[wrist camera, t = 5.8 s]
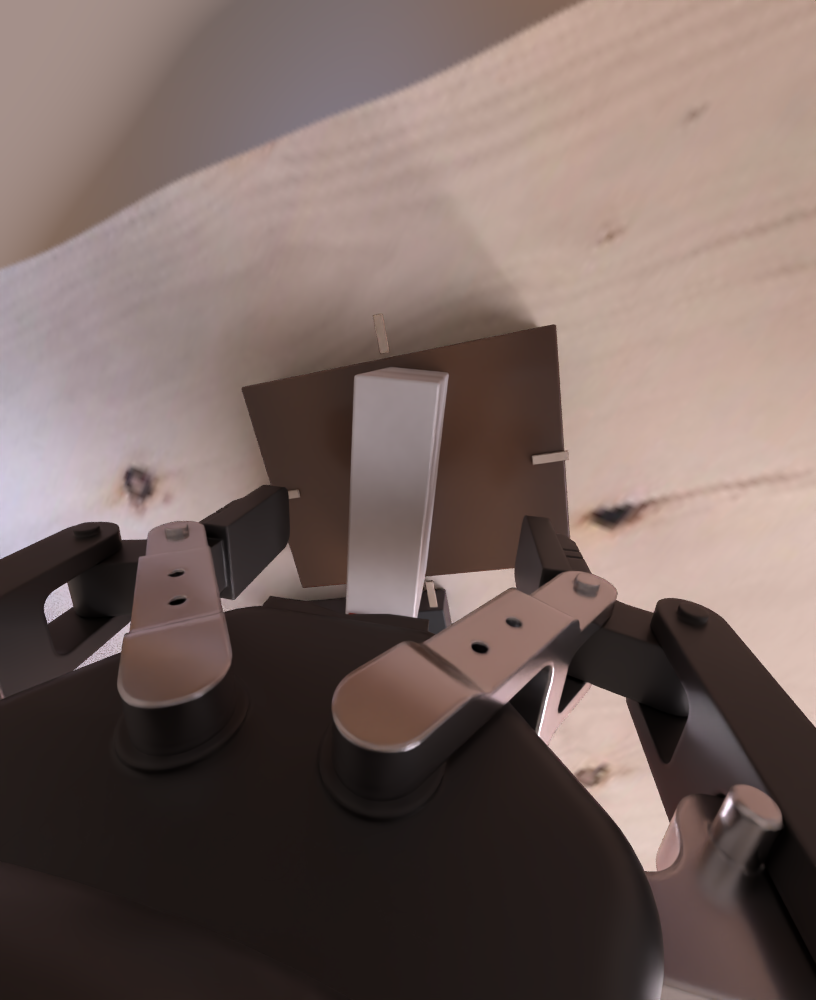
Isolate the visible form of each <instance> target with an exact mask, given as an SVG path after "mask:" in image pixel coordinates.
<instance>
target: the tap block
mask: <svg viewBox="0 0 816 1000" xmlns="http://www.w3.org/2000/svg"><path fill="white" fill-rule="evenodd" d="M373 319H374V324H375V329H376V334H377V339H378V344H379V349H380V353H381V354H382V353H386V352H390V351H389V346H388V340H387V335H386V330H385V325H384V319H383V314H378V315H373ZM389 367H396V368H407V369H417V370H427V371H438V372H447V373H448V375H449V376H448V385H447V394H446V402H445V411H444V420H443V428H442V437H441V446H440V454H439V463H438V472H437V480H436V489H435V498H434V506H433V515H432V524H431V532H430V541H429V550H428V558H427V567H426V574H425V576H435V575H446V574H456V573H467V572H477V571H488V570H499V569H509V568H515V561H516V555H517V549H518V544H519V538H520V533H521V527H522V522H523V518H524V516H525V515H527V516H536V517H545V518H549V520H550V522H551V524H552V526H553V528H554V531H555V533H556V534H564V535H566V536H567V537H568V538H570V531H569V516H568V500H567V485H566V470H565V460H568V459H569V458H568V451H567V450H566V451H564V439H563V424H562V408H561V393H560V378H559V362H558V347H557V331H556V325H554V324H553V325H548V326H543V327H538V328H533V329H528V330H523V331H518V332H513V333H508V334H503V335H498V336H493V337H488V338H483V339H478V340H473V341H469V342H464V343H459V344H454V345H449V346H444V347H439V348H434V349H429V350H424V351H419V352H414V353H409V354H404V355H399V356H394V357H389V358H384V359H379V360H374V361H369V362H364V363H359V364H354V365H349V366H344V367H339V368H334V369H329V370H324V371H319V372H315V373H310V374H305V375H300V376H295V377H290V378H285V379H280V380H275V381H270V382H265V383H260V384H255V385H250V386H245V387H242V392H243V395H244V398H245V402H246V405H247V408H248V412H249V415H250V418H251V421H252V425H253V428H254V431H255V434H256V438H257V441H258V444H259V447H260V451H261V454H262V457H263V460H264V464H265V467H266V470H267V473H268V477H269V480H270V483H271V486H279V487H285V488H286V489H287V490H288V494H289V514H290V536H289V540H288V542H289V545H290V548H291V552H292V555H293V558H294V561H295V565H296V568H297V571H298V574H299V578H300V581H301V584H302V587H303V588H308V587H318V586H329V585H340V584H347V559H348V532H349V504H350V477H351V449H352V422H353V395H354V377H355V375H357V374H362V373H366V372H371V371H375V370H380V369H384V368H389ZM425 584H426V589H427V594H428V599H429V604H430V607H437V606H438V605H437V599H436V594H435V589H434V583H433V580H431V581H426V582H425Z"/></svg>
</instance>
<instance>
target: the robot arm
mask: <svg viewBox="0 0 816 1000" xmlns="http://www.w3.org/2000/svg"><path fill="white" fill-rule="evenodd" d="M289 536H290V514H289V494H288V490H287V489H286V488H285V487H279V486H270V485H262V486H261V487H259V488H258V489H256V490H254V491H253V492H251V493H250V494H248V495H247V496H245V497H243V498H240V499H237V500H234V501H232V502H231V503H229V504H227V505H226V506H224V508H221V509H219V510H218V511H216V513H213V514H211V515H210V516H208V517H206V518H205V519H203V520H201V521H200V522H194V521H175V522H170V523H166V524H163V525H160V526H157V527H155V528H153V529H152V530H151V531H150V532H149V533H148V537H147V540H121V535H120V530H119V526H118V525H117V524H114V523H110V522H87V523H82V524H78V525H76V526H72V527H69V528H67V529H64V530H62V531H60V532H58V533H56V534H53V535H51V536H49V537H47V538H45V539H43V540H41V541H38V542H36V543H34V544H32V545H30V546H28V547H26V548H24V549H21V550H19V551H17V552H15V553H13V554H11V555H9V556H6V557H4V558H2V559H0V1000H816V728H815V726H814V725H813V724H812V723H811V722H810V721H809V719H808V718H807V717H806V716H805V715H804V713H803V712H802V711H801V710H800V709H799V707H798V706H797V705H796V704H795V703H794V701H793V700H792V699H791V698H790V697H789V696H788V694H787V693H786V692H785V691H784V690H783V688H782V687H781V686H780V685H779V684H778V682H777V681H776V680H775V679H774V678H773V677H772V675H771V674H770V673H769V672H768V671H767V669H766V668H765V667H764V666H763V665H762V663H761V662H760V661H759V660H758V659H757V658H756V656H755V655H754V654H753V653H752V652H751V650H750V649H749V648H748V647H747V646H746V644H745V643H744V642H743V641H742V640H741V639H740V637H739V636H738V635H737V634H736V633H735V631H734V630H733V629H732V628H731V627H730V625H729V624H728V623H727V622H726V621H725V620H724V619H723V618H722V617H721V616H719V615H718V614H717V613H715V612H713V611H712V610H710V609H708V608H706V607H704V606H702V605H699V604H697V603H694V602H690V601H687V600H682V599H676V598H665V599H661V600H659V601H658V602H657V605H656V608H655V611H654V613H652V612H649V611H646V610H642V609H639V608H636V607H632V606H629V605H626V604H624V603H621V602H619V601H617V600H616V598H617V594H618V593H617V590H616V588H615V587H614V586H613V585H612V584H611V583H610V582H608V581H607V580H605V579H603V578H601V577H599V576H596V575H594V574H592V573H591V572H590V570H589V568H588V566H587V564H586V562H585V560H584V559H583V557H582V555H581V553H580V552H579V549H578V547H577V545H576V543H575V542H574V541H572V540H571V539H570V538H568V537H567V536H566V535H564V534H556V533H555V531H554V528H553V526H552V524H551V522H550V520H549V518H545V517H536V516H527V515H525V516H524V518H523V522H522V527H521V533H520V538H519V544H518V549H517V555H516V561H515V582H516V588H517V589H516V588H513V587H512V588H509V589H507V590H506V591H504V592H503V593H501V594H500V595H498V596H496V597H495V598H493V599H492V600H490V601H488V602H487V603H485V604H484V605H482V606H480V607H479V608H477V609H476V610H474V611H472V612H471V613H469V614H468V615H466V616H464V617H463V618H461V619H460V620H458V621H456V622H455V623H453V624H452V625H450V626H449V627H447V628H445V629H444V630H442V631H441V632H439V633H437V634H434V633H431V632H429V631H428V627H429V620H428V619H421V618H415V617H408V616H401V615H394V614H343V613H340V612H337V611H334V610H331V609H328V608H325V607H322V606H319V605H316V604H313V603H311V602H307V601H300V600H294V599H287V598H280V597H273V596H270V597H269V598H268V600H267V601H266V602H265V603H264V604H263V606H254V607H245V608H239V609H235V610H230V611H227V612H223V610H222V605H221V600H220V598H224V599H231V600H235V599H236V598H237V597H238V596H239V594H240V593H241V592H242V591H243V590H244V589H245V588H246V587H247V586H248V585H249V584H250V583H251V582H252V581H253V580H254V579H255V578H256V577H257V576H258V575H259V574H260V573H261V572H262V571H263V570H264V569H265V568H266V567H267V565H268V564H269V563H270V562H271V561H272V560H273V559H274V558H275V557H276V556H277V555H278V554H279V553H280V552H281V551H282V550H283V549H284V548H285V547H286V545H287V543H288V540H289ZM65 583H68V587H69V591H70V595H71V599H72V602H73V606H74V607H72V608H71V609H69V610H68V611H66V612H65V613H63V614H62V615H60V616H59V617H58V618H56V619H55V620H53V621H52V622H50V623H49V624H47V620H46V617H45V614H44V604H45V601H46V599H47V597H48V596H49V595H50V593H51V592H52V591H54V590H55V589H57V588H59V587H60V586H62V585H63V584H65ZM130 621H131V624H130V631H129V633H126V634H125V635H124V638H123V644H122V651H121V652H120V653H118V654H115V655H113V656H110V657H107V658H105V659H102V660H100V661H97V662H95V663H92V664H90V665H87V666H85V667H82V668H79V669H77V670H75V669H76V668H77V667H78V666H79V665H80V664H82V663H83V662H84V661H85V660H86V659H87V658H89V657H90V656H91V655H92V654H93V653H94V652H96V651H97V650H98V649H99V648H100V647H101V646H103V645H104V644H105V643H106V642H107V641H108V640H110V639H111V638H112V637H113V636H114V635H115V634H117V633H118V632H119V631H120V630H121V629H122V628H123V627H125V626H126V625H127V624H128V623H129V622H130ZM73 670H74V671H73ZM592 684H593V685H595V686H598V687H600V688H603V689H606V690H608V691H611V692H613V693H616V694H618V695H621V696H624V697H626V702H627V705H628V708H629V711H630V714H631V717H632V719H633V722H634V725H635V728H636V730H637V733H638V736H639V739H640V742H641V744H642V747H643V750H644V753H645V755H646V758H647V761H648V764H649V767H650V769H651V772H652V775H653V778H654V780H655V783H656V786H657V789H658V792H659V794H660V797H661V800H662V803H663V805H664V808H665V811H666V814H667V816H668V819H669V822H670V824H669V826H668V829H667V831H666V833H665V835H664V838H663V840H662V842H661V844H660V847H659V849H658V851H657V856H656V868H657V871H656V872H647V871H644V869H643V867H642V865H641V863H640V861H639V859H638V858H637V856H636V854H635V852H634V850H633V848H632V846H631V845H630V843H629V842H628V840H627V839H626V837H625V836H624V834H623V833H622V831H621V830H620V828H619V827H618V826H617V825H616V823H615V822H614V821H613V820H612V818H611V817H610V816H609V815H608V813H607V812H606V811H605V810H604V809H603V808H602V807H601V805H600V804H599V803H598V802H597V801H596V800H595V799H594V798H593V796H592V795H591V794H590V793H589V792H588V791H587V790H586V789H585V787H584V786H583V785H582V784H581V783H580V782H579V781H578V780H577V778H576V777H575V776H574V775H573V774H572V773H571V772H570V771H569V769H568V768H567V767H566V766H565V765H564V764H563V763H562V761H561V760H560V759H559V758H558V757H557V756H556V755H555V754H554V752H553V751H552V750H551V749H550V748H549V747H548V746H549V743H550V741H551V739H552V737H553V735H554V733H555V731H556V730H557V729H558V727H559V726H560V725H561V724H562V722H563V721H564V720H565V719H566V718H567V716H568V715H569V714H570V713H571V711H572V710H573V709H574V708H575V707H576V705H577V704H578V703H579V702H580V700H581V699H582V698H583V697H584V696H585V694H586V693H587V692H588V691H589V689H590V688H591V685H592Z"/></svg>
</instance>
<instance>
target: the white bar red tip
mask: <svg viewBox="0 0 816 1000" xmlns="http://www.w3.org/2000/svg"><path fill="white" fill-rule="evenodd" d="M448 376H449V375H448V373H447V372H438V371H427V370H417V369H407V368H396V367H389V368H384V369H380V370H375V371H371V372H366V373H362V374H357V375H355V377H354V395H353V422H352V449H351V477H350V504H349V532H348V559H347V586H346V614H394V615H401V616H408V617H415V618H417V616H418V611H419V605H420V600H421V595H422V590H423V584H424V579H425V574H426V567H427V558H428V550H429V541H430V532H431V524H432V515H433V506H434V498H435V489H436V480H437V472H438V463H439V454H440V446H441V437H442V428H443V420H444V411H445V402H446V394H447V385H448Z"/></svg>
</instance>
